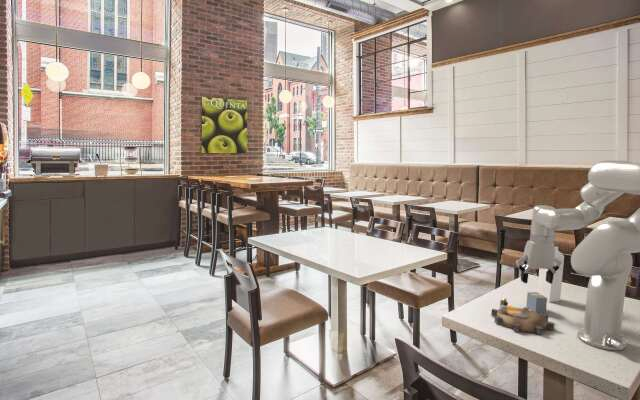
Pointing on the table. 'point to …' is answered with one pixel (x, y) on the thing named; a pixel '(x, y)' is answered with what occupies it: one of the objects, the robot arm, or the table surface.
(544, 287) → the milk
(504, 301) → the block with gold knob
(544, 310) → the link block
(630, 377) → the table surface
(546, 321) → the sprocket
